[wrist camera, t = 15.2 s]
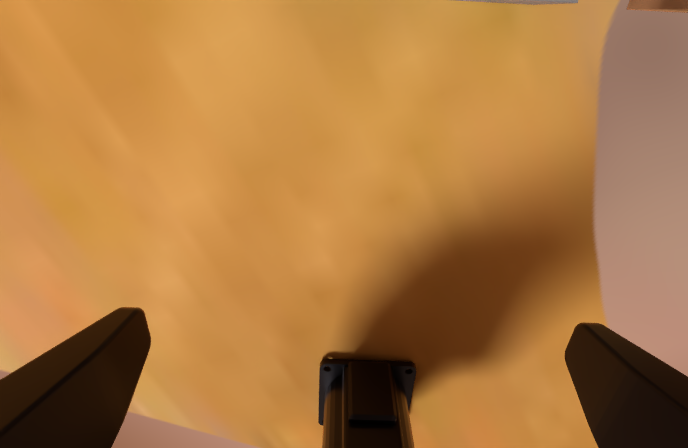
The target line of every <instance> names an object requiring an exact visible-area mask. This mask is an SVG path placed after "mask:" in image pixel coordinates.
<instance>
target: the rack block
mask: <svg viewBox="0 0 688 448" xmlns="http://www.w3.org/2000/svg"><path fill="white" fill-rule="evenodd" d="M458 1H477V2H496V3H515V4H533V5H536V4H563V3H578V0H458Z"/></svg>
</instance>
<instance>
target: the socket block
mask: <svg viewBox="0 0 688 448" xmlns="http://www.w3.org/2000/svg"><path fill="white" fill-rule="evenodd" d="M627 10H647V11H665V12H684V13H685V12H686V13H688V0H630V1H629V4H628V7H627Z"/></svg>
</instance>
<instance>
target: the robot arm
mask: <svg viewBox="0 0 688 448" xmlns="http://www.w3.org/2000/svg"><path fill="white" fill-rule="evenodd" d="M150 345H151V337H150V332H149V329H148V325H147V321H146V317H145V313H144V311H143V310H142V309H141V308H134V307H121V308H118V309H117V310H115V311H113V312H112V313H110V314H108V315H107V316H105V317H103V318H102V319H100V320H98V321H97V322H95V323H93V324H92V325H90V326H88V327H87V328H85V329H83V330H82V331H80V332H78V333H77V334H75V335H73V336H72V337H70V338H69V339H67V340H65V341H64V342H62V343H60V344H59V345H57V346H55V347H54V348H52V349H50V350H49V351H47V352H45V353H44V354H42V355H40V356H39V357H37V358H35V359H34V360H32V361H30V362H29V363H27V364H26V365H24V366H22V367H21V368H19V369H17V370H16V371H14V372H12V373H11V374H9V375H7V376H6V377H4V378H2V379H1V380H0V448H111V447H112V445H113V443H114V441H115V439H116V436H117V434H118V432H119V430H120V428H121V426H122V423H123V421H124V419H125V416H126V413H127V411H128V408H129V406H130V403H131V400H132V397H133V394H134V392H135V389H136V386H137V383H138V380H139V378H140V375H141V372H142V369H143V366H144V364H145V361H146V358H147V355H148V352H149V349H150ZM565 361H566V365H567V367H568V370H569V373H570V375H571V378H572V381H573V384H574V386H575V389H576V392H577V394H578V397H579V400H580V403H581V405H582V408H583V411H584V413H585V416H586V419H587V422H588V424H589V427H590V429H591V432H592V434H593V436H594V438H595V441H596V443H597V445H598V447H599V448H688V377H687V376H686V375H684V374H682V373H681V372H679V371H678V370H676V369H674V368H672V367H671V366H669V365H668V364H666V363H664V362H663V361H661V360H660V359H658V358H656V357H655V356H653V355H651V354H650V353H648V352H646V351H645V350H643V349H641V348H640V347H638V346H636V345H635V344H633V343H632V342H630V341H628V340H627V339H625V338H623V337H621V336H620V335H618V334H617V333H615V332H614V331H612V330H610V329H609V328H607V327H605V326H604V325H602V324H599V323H579V324H578V325H577V326H576V327H575V329H574V331H573V334H572V336H571V338H570V341H569V343H568V345H567V348H566V350H565ZM326 366H328V367H326ZM407 369H408V370H407ZM415 376H416V367H415V364H414V363H412V362H405V361H373V360H341V359H325V360H322V361H321V363H320V380H319V424H320V425H323V445H322V448H414V442H413V436H412V430H411V424H410V417H409V407H410V402H411V397H412V391H413V386H414V381H415Z"/></svg>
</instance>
